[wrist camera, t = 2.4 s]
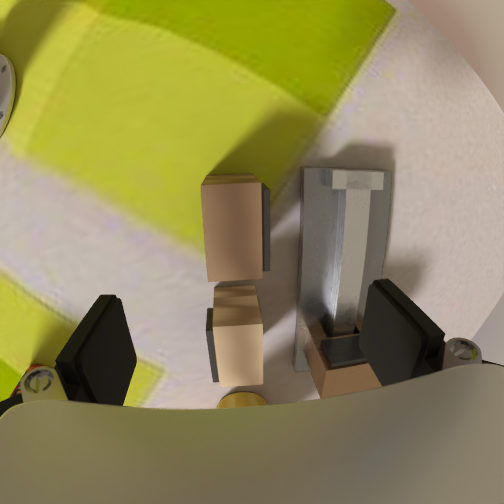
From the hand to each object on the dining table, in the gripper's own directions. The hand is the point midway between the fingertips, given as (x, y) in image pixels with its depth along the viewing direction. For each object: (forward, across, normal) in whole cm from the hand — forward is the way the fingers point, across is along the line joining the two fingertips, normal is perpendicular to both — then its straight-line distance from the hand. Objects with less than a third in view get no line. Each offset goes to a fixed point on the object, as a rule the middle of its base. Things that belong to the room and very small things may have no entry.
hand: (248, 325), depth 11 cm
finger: (+18, 0, 0) cm, 18 cm away
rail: (+18, -11, +7) cm, 22 cm away
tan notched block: (+18, 0, +11) cm, 21 cm away
